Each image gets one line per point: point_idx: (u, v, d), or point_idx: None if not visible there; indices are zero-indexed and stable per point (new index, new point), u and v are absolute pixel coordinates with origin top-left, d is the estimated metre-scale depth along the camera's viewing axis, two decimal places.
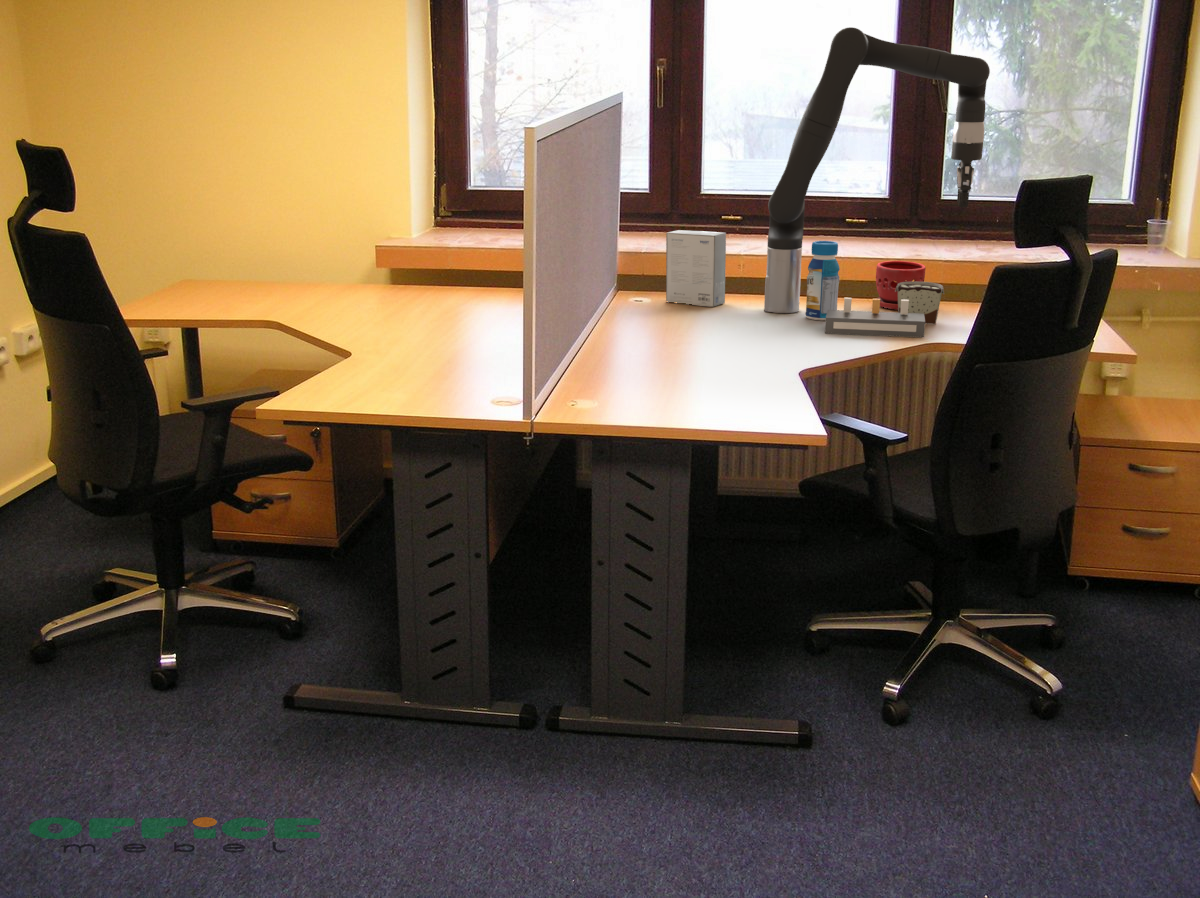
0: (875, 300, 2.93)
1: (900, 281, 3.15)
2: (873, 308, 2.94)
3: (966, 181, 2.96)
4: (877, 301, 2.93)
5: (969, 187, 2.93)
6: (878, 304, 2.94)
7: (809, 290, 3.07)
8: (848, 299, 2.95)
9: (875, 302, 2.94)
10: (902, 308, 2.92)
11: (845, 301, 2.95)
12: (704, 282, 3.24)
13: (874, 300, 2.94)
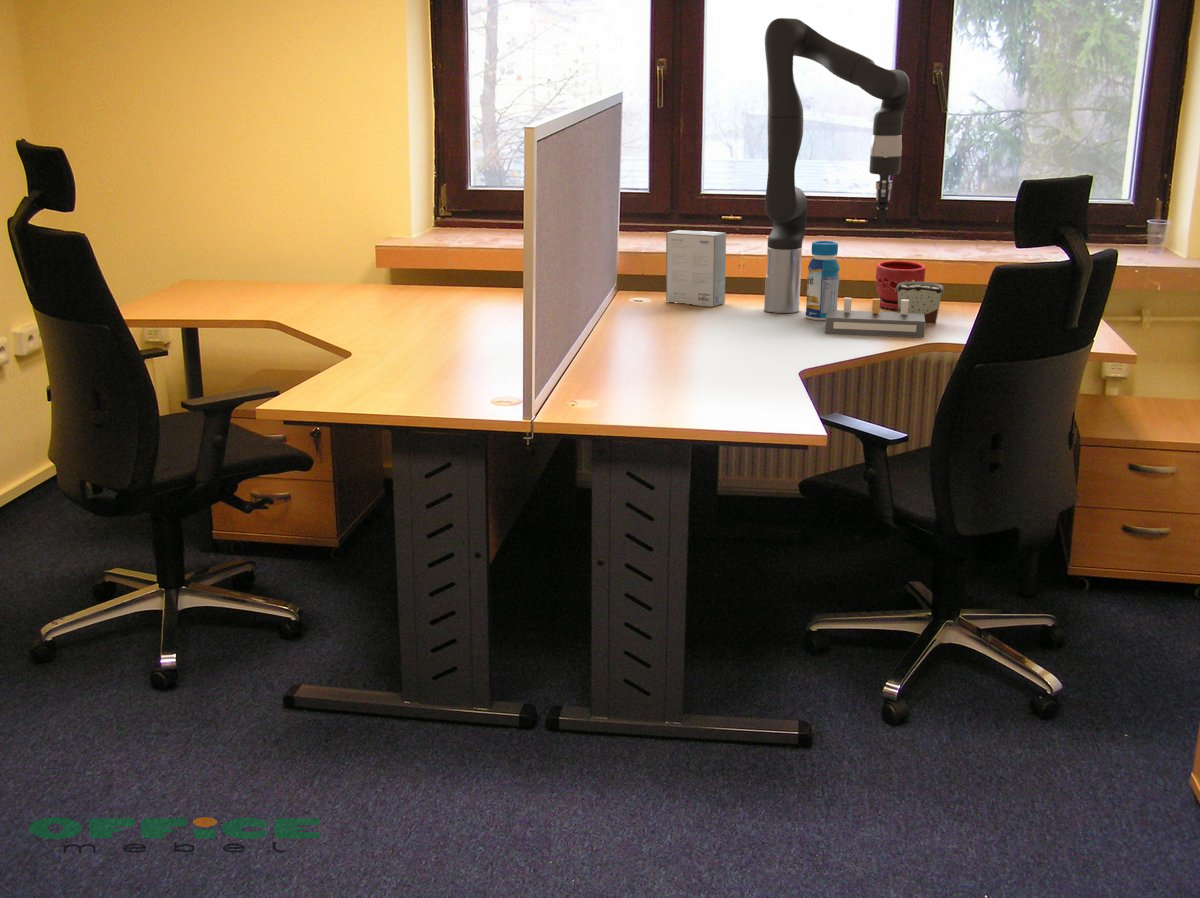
0: (875, 300, 2.93)
1: (900, 281, 3.15)
2: (873, 308, 2.94)
3: None
4: (877, 301, 2.93)
5: (886, 206, 2.91)
6: (878, 304, 2.94)
7: (809, 290, 3.07)
8: (848, 299, 2.95)
9: (875, 302, 2.94)
10: (902, 308, 2.92)
11: (845, 301, 2.95)
12: (704, 282, 3.24)
13: (874, 300, 2.94)
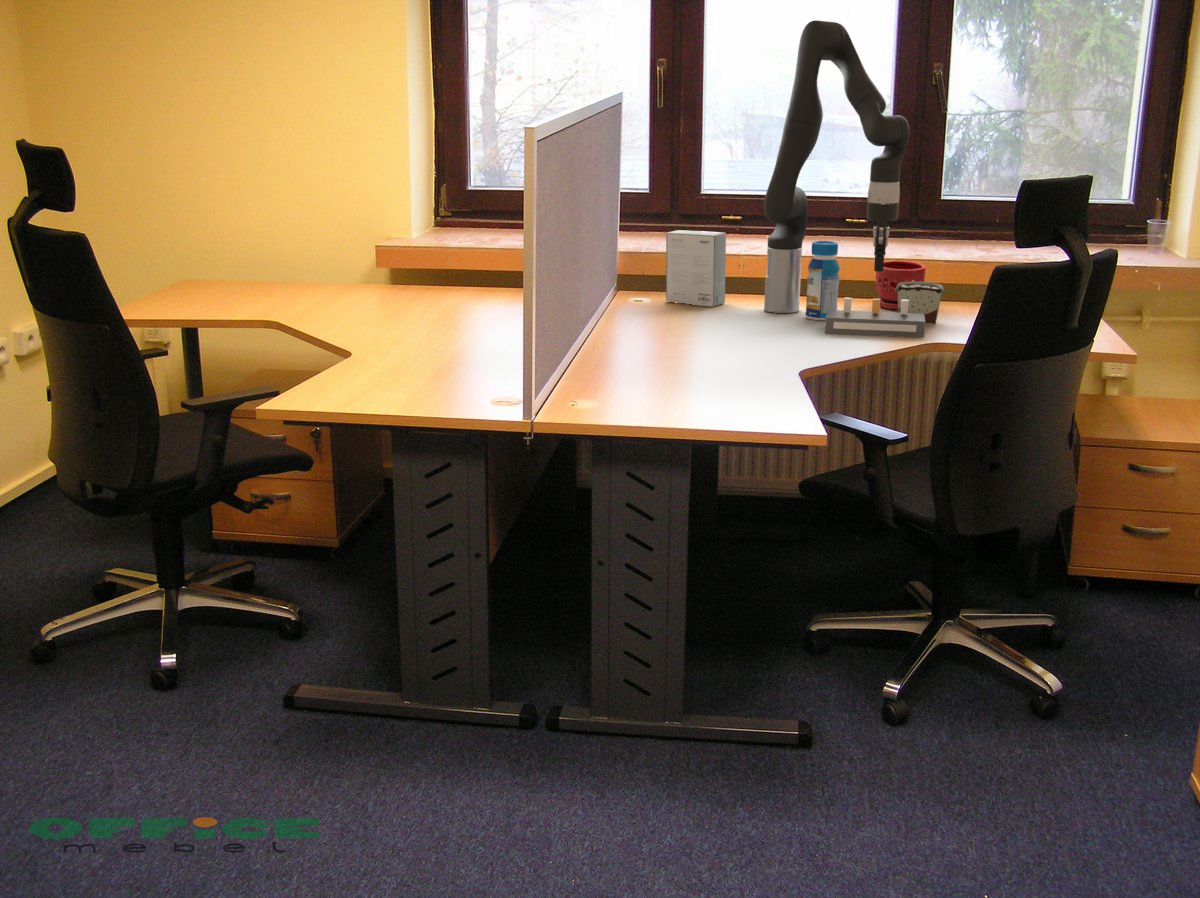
0: (875, 300, 2.93)
1: (900, 281, 3.15)
2: (873, 308, 2.94)
3: None
4: (877, 301, 2.93)
5: (883, 253, 2.86)
6: (878, 304, 2.94)
7: (809, 290, 3.07)
8: (848, 299, 2.95)
9: (875, 302, 2.94)
10: (902, 308, 2.92)
11: (845, 301, 2.95)
12: (704, 282, 3.24)
13: (874, 300, 2.94)
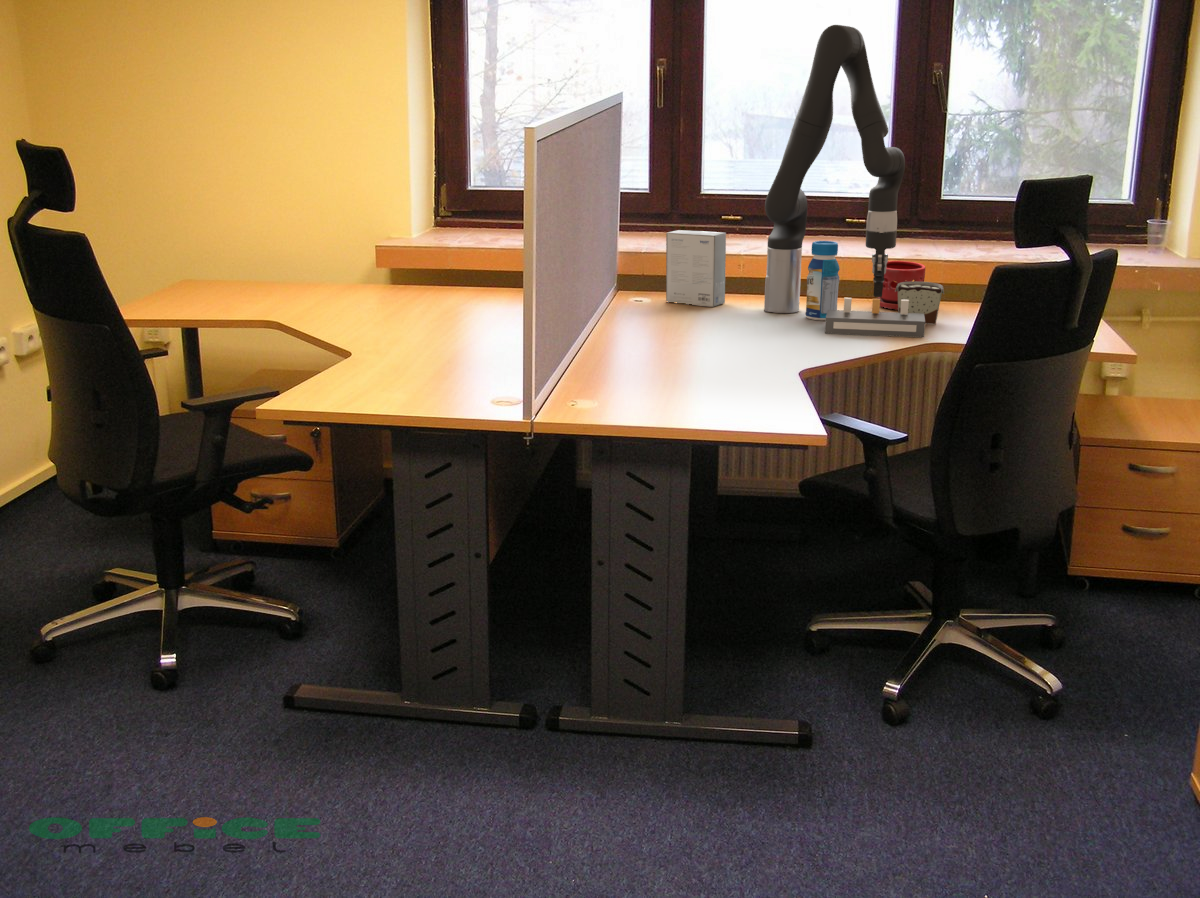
0: (875, 300, 2.93)
1: (900, 281, 3.15)
2: (873, 308, 2.94)
3: None
4: (877, 301, 2.93)
5: (882, 280, 2.96)
6: (878, 304, 2.94)
7: (809, 290, 3.07)
8: (848, 299, 2.95)
9: (875, 302, 2.94)
10: (902, 308, 2.92)
11: (845, 301, 2.95)
12: (704, 282, 3.24)
13: (874, 300, 2.94)
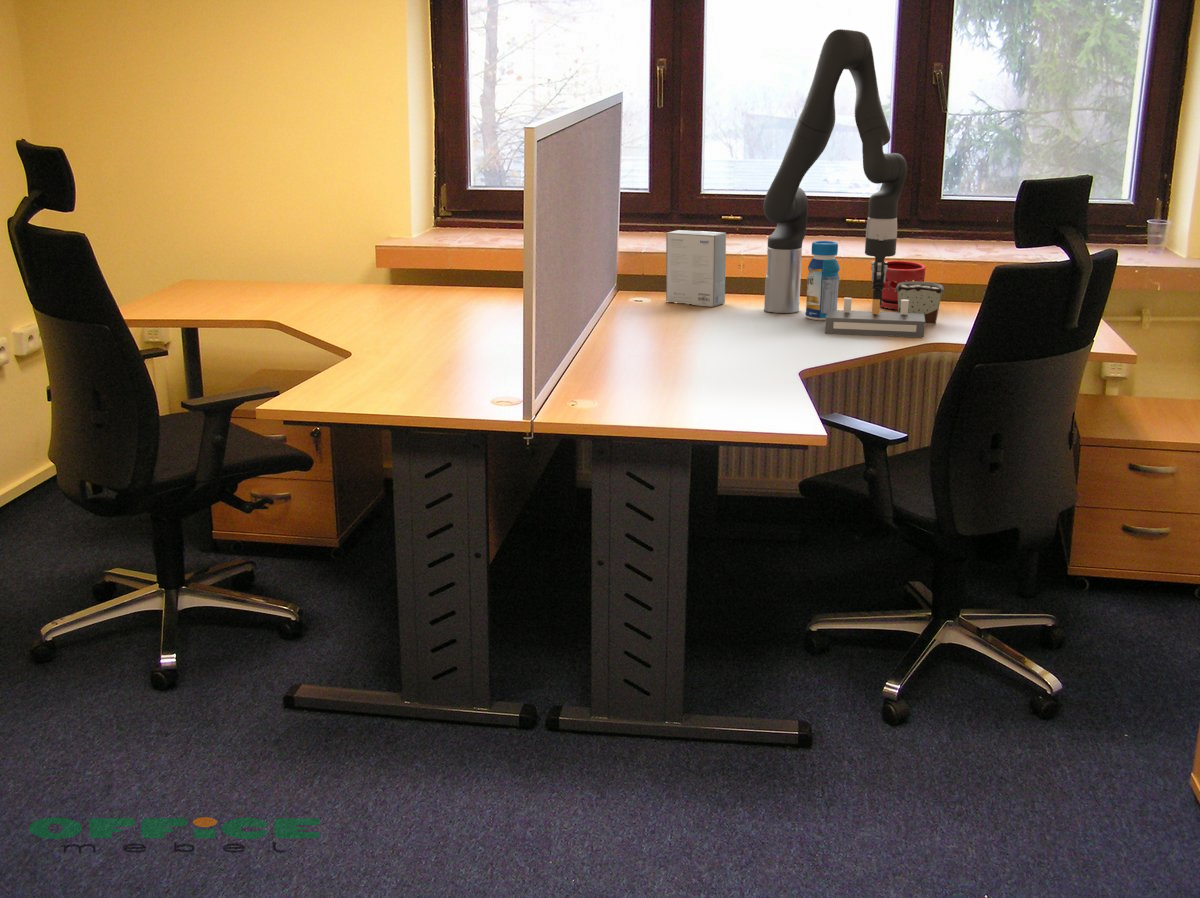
0: (875, 301, 2.93)
1: (900, 281, 3.15)
2: (873, 309, 2.93)
3: None
4: (877, 302, 2.93)
5: (881, 288, 2.91)
6: (878, 305, 2.93)
7: (809, 290, 3.07)
8: (848, 299, 2.95)
9: (875, 303, 2.93)
10: (902, 308, 2.92)
11: (845, 301, 2.95)
12: (704, 282, 3.24)
13: (874, 301, 2.93)
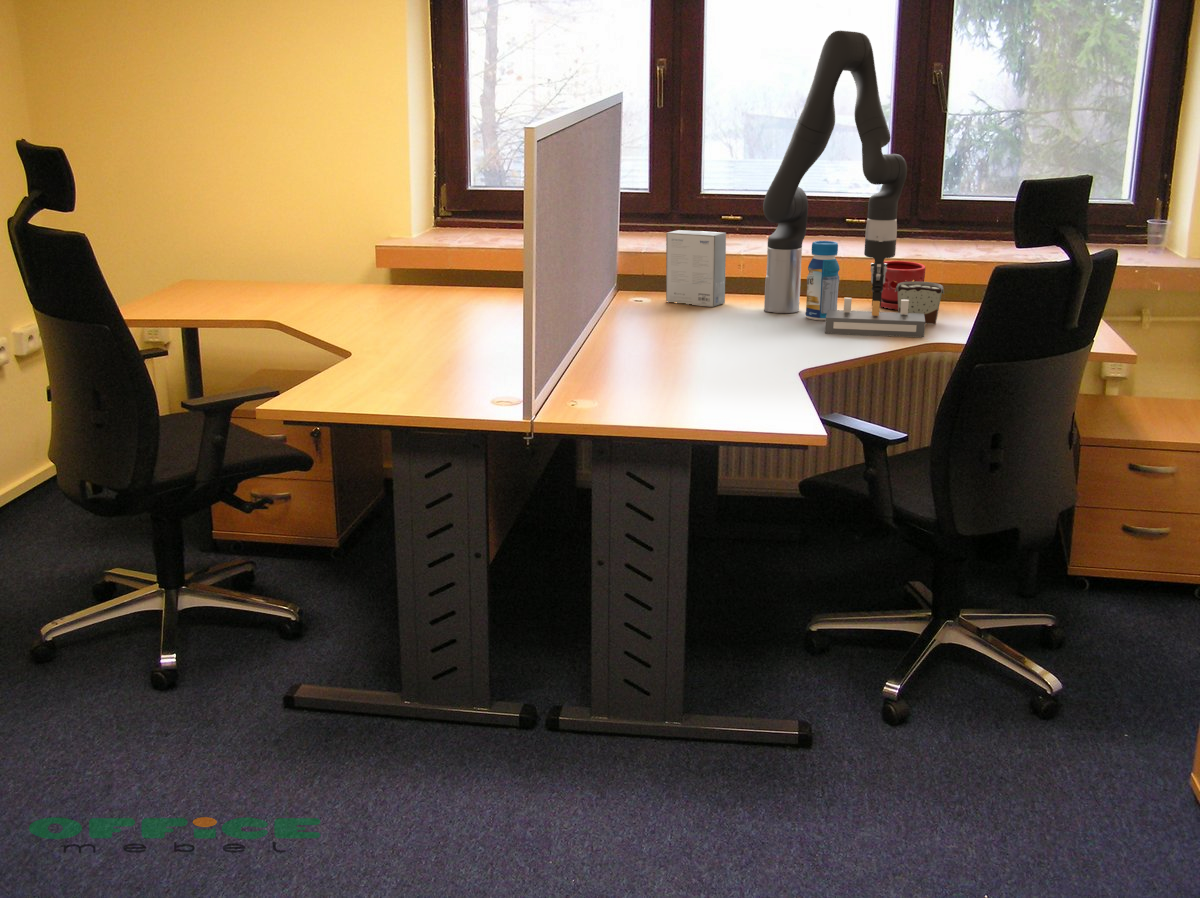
0: (875, 302, 2.91)
1: (900, 281, 3.15)
2: (873, 310, 2.91)
3: None
4: (877, 303, 2.91)
5: (881, 290, 2.89)
6: (878, 306, 2.91)
7: (809, 290, 3.07)
8: (848, 299, 2.95)
9: (875, 304, 2.91)
10: (902, 308, 2.92)
11: (845, 301, 2.95)
12: (704, 282, 3.24)
13: (874, 302, 2.91)
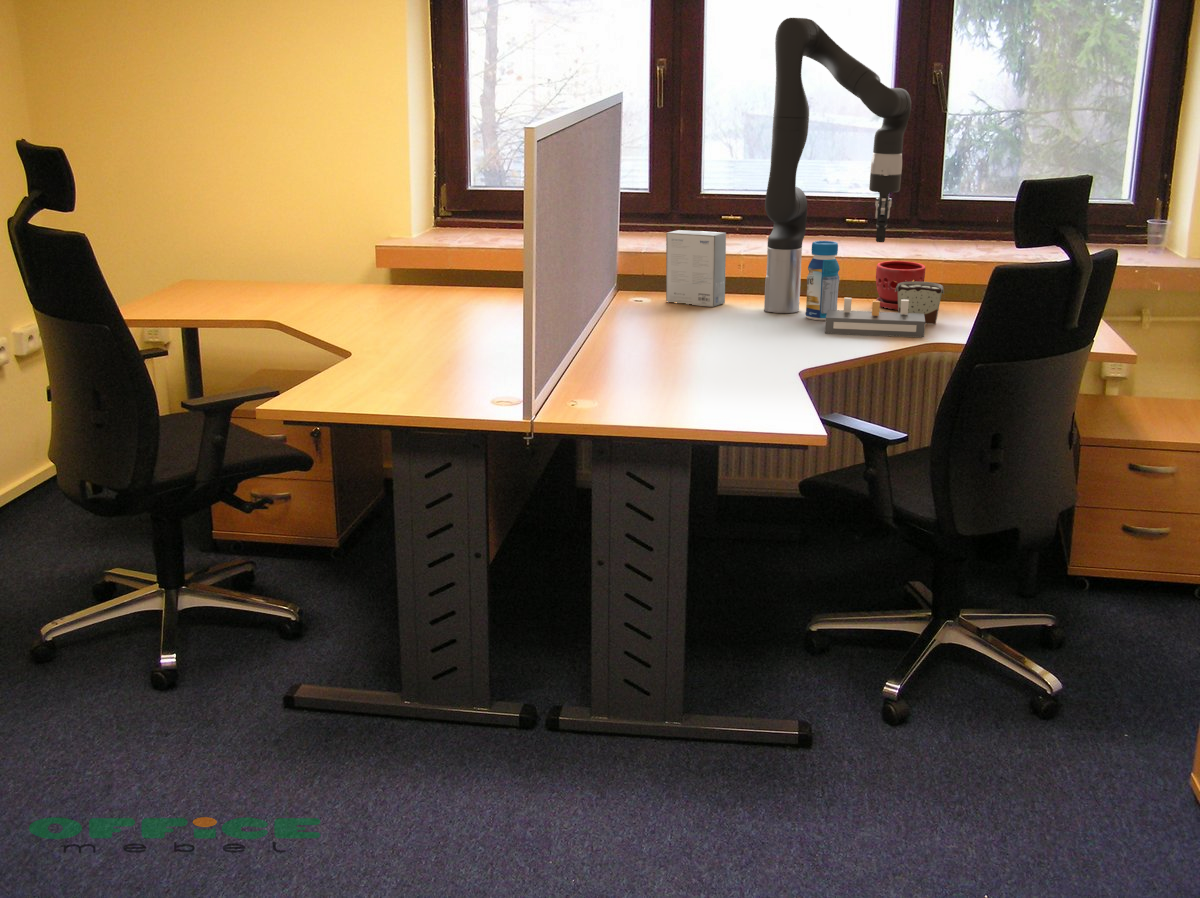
0: (875, 302, 2.91)
1: (900, 281, 3.15)
2: (873, 310, 2.91)
3: None
4: (877, 303, 2.91)
5: (885, 224, 2.91)
6: (878, 306, 2.91)
7: (809, 290, 3.07)
8: (848, 299, 2.95)
9: (875, 304, 2.91)
10: (902, 308, 2.92)
11: (845, 301, 2.95)
12: (704, 282, 3.24)
13: (874, 302, 2.91)
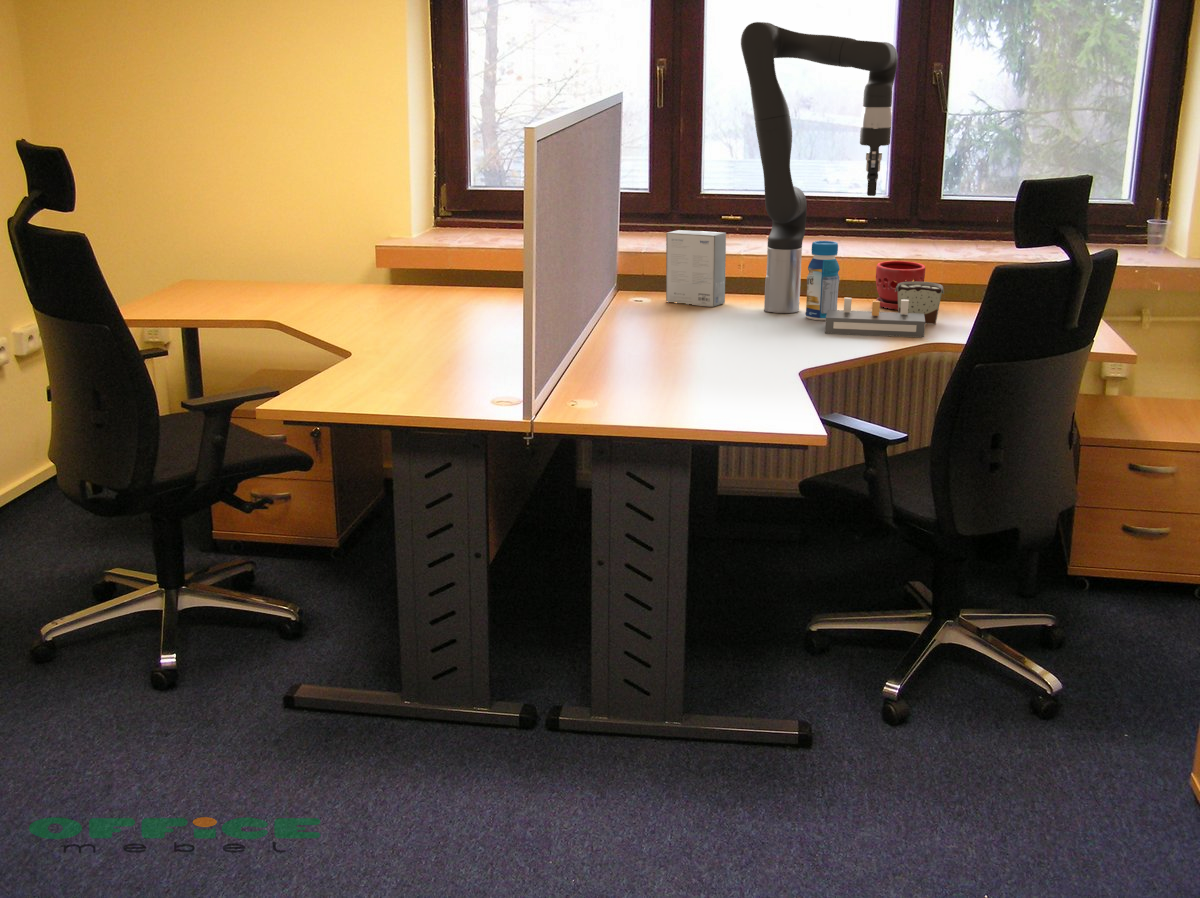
0: (875, 302, 2.91)
1: (900, 281, 3.15)
2: (873, 310, 2.91)
3: None
4: (877, 303, 2.91)
5: (876, 177, 2.95)
6: (878, 306, 2.91)
7: (809, 290, 3.07)
8: (848, 299, 2.95)
9: (875, 304, 2.91)
10: (902, 308, 2.92)
11: (845, 301, 2.95)
12: (704, 282, 3.24)
13: (874, 302, 2.91)
